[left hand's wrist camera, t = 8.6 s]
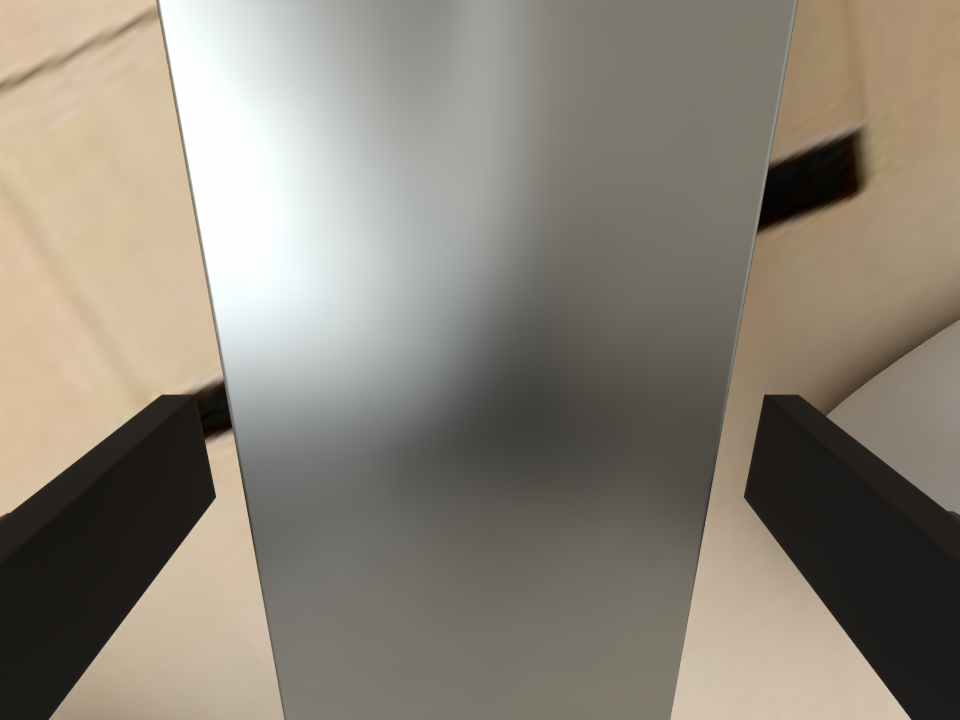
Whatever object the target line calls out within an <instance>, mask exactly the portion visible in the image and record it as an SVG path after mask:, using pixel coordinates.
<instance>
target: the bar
mask: <svg viewBox="0 0 960 720" xmlns="http://www.w3.org/2000/svg"><path fill="white" fill-rule="evenodd" d="M156 1H157V6H158V12H159V18H160V23H161V29H162V35H163V40H164V46H165V51H166V57H167V63H168V68H169V74H170V79H171V85H172V91H173V96H174V102H175V107H176V113H177V119H178V124H179V130H180V135H181V141H182V147H183V152H184V158H185V164H186V169H187V175H188V180H189V186H190V192H191V197H192V203H193V208H194V214H195V220H196V225H197V231H198V236H199V242H200V248H201V253H202V259H203V265H204V270H205V276H206V281H207V287H208V293H209V298H210V304H211V309H212V315H213V321H214V326H215V332H216V337H217V343H218V349H219V354H220V360H221V366H222V371H223V377H224V382H225V388H226V394H227V399H228V405H229V410H230V416H231V422H232V427H233V433H234V438H235V444H236V450H237V455H238V461H239V467H240V472H241V478H242V483H243V489H244V495H245V500H246V506H247V511H248V517H249V523H250V528H251V534H252V539H253V545H254V551H255V556H256V562H257V567H258V573H259V579H260V584H261V590H262V596H263V601H264V607H265V612H266V618H267V624H268V629H269V635H270V640H271V646H272V652H273V657H274V663H275V668H276V674H277V680H278V685H279V691H280V697H281V702H282V708H283V713H284V719H285V720H670V717H671V712H672V706H673V701H674V695H675V689H676V684H677V678H678V672H679V667H680V661H681V656H682V650H683V644H684V639H685V633H686V627H687V622H688V616H689V611H690V605H691V599H692V594H693V588H694V582H695V577H696V571H697V566H698V560H699V554H700V549H701V543H702V537H703V532H704V526H705V521H706V515H707V509H708V504H709V498H710V492H711V487H712V481H713V476H714V470H715V464H716V459H717V453H718V447H719V442H720V436H721V431H722V425H723V419H724V414H725V408H726V402H727V397H728V391H729V386H730V380H731V374H732V369H733V363H734V357H735V352H736V346H737V341H738V335H739V329H740V324H741V318H742V313H743V307H744V301H745V296H746V290H747V284H748V279H749V273H750V268H751V262H752V256H753V251H754V245H755V239H756V234H757V228H758V223H759V217H760V211H761V206H762V200H763V194H764V189H765V183H766V178H767V172H768V166H769V161H770V155H771V149H772V144H773V138H774V133H775V127H776V121H777V116H778V110H779V104H780V99H781V93H782V88H783V82H784V76H785V71H786V65H787V59H788V54H789V48H790V43H791V37H792V31H793V26H794V20H795V14H796V9H797V3H798V0H156Z"/></svg>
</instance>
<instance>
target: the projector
mask: <svg viewBox="0 0 960 720" xmlns="http://www.w3.org/2000/svg"><path fill="white" fill-rule="evenodd" d="M826 417H827V418H829V419H830V420H831V421H832V422H834V423H835V424H836V425H838V426H839V427H840V428H841V429H843V430H844V431H845V432H847V433H848V434H849V435H850V436H852V437H853V438H854V439H856V440H857V441H858V442H859V443H861V444H862V445H863V446H865V447H866V448H867V449H868V450H870V451H871V452H872V453H874V454H875V455H876V456H877V457H879V458H880V459H881V460H883V461H884V462H885V463H886V464H888V465H889V466H890V467H891V468H893V469H894V470H895V471H897V472H898V473H899V474H900V475H902V476H903V477H904V478H906V479H907V480H908V481H909V482H911V483H912V484H913V485H915V486H916V487H917V488H918V489H920V490H921V491H922V492H924V493H925V494H926V495H927V496H929V497H930V498H931V499H933V500H934V501H935V502H936V503H938V504H939V505H940V506H942V507H943V508H944V509H945V510H947V511H954V512H956V513H958V514H959V515H960V320H958V321H956V322H955V323H953V324H952V325H950V326H948V327H947V328H945V329H944V330H942V331H940V332H939V333H937V334H936V335H934V336H933V337H931V338H930V339H928V340H927V341H925V342H924V343H922V344H921V345H919V346H918V347H916V348H915V349H913V350H912V351H910V352H909V353H907V354H906V355H904V356H903V357H902V358H900V359H899V360H897V361H896V362H895V363H893V364H892V365H890V366H889V367H888V368H886V369H885V370H883V371H882V372H881V373H879V374H878V375H876V376H875V377H873V378H872V379H871V380H869V381H868V382H867V383H866V384H864V385H863V386H862V387H860V388H859V389H858V390H856V391H855V392H854V393H853V394H851V395H850V396H849V397H847V398H846V399H845V400H844V401H843V402H841V403H840V404H839V405H838V406H837V407H836V408H835V409H833V410H832V411H831V412H830V413H829V414H828V415H827V416H826Z"/></svg>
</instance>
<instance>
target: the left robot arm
mask: <svg viewBox="0 0 960 720" xmlns="http://www.w3.org/2000/svg"><path fill="white" fill-rule="evenodd" d="M215 498H216V494H215V489H214V484H213V479H212V474H211V469H210V464H209V459H208V454H207V450H206V445H205V440H204V435H203V430H202V425H201V420H200V415H199V410H198V405H197V400H196V395H161V396H160V397H158V398H157V399H156V400H154V401H153V402H152V403H151V404H149V405H148V406H147V407H145V408H144V409H143V410H142V411H140V412H139V413H138V414H136V415H135V416H134V417H133V418H131V419H130V420H129V421H127V422H126V423H125V424H124V425H122V426H121V427H120V428H119V429H117V430H116V431H115V432H113V433H112V434H111V435H110V436H108V437H107V438H106V439H104V440H103V441H102V442H101V443H99V444H98V445H97V446H95V447H94V448H93V449H92V450H90V451H89V452H88V453H86V454H85V455H84V456H83V457H81V458H80V459H79V460H77V461H76V462H75V463H74V464H72V465H71V466H70V467H68V468H67V469H66V470H65V471H63V472H62V473H61V474H60V475H58V476H57V477H56V478H54V479H53V480H52V481H51V482H49V483H48V484H47V485H45V486H44V487H43V488H42V489H40V490H39V491H38V492H36V493H35V494H34V495H33V496H31V497H30V498H29V499H27V500H26V501H25V502H24V503H22V504H21V505H20V506H18V507H17V508H16V509H15V510H13V511H12V512H11V513H7V514H5V515H3V516H1V517H0V720H49V718H50V717H51V716H52V714H53V713H54V712H55V710H56V709H57V708H58V706H59V705H60V704H61V702H62V701H63V700H64V699H65V697H66V696H67V695H68V693H69V692H70V691H71V689H72V688H73V687H74V685H75V684H76V683H77V681H78V680H79V679H80V677H81V676H82V675H83V673H84V672H85V671H86V669H87V668H88V667H89V665H90V664H91V663H92V661H93V660H94V659H95V657H96V656H97V655H98V653H99V652H100V651H101V649H102V648H103V647H104V645H105V644H106V643H107V641H108V640H109V639H110V637H111V636H112V635H113V633H114V632H115V631H116V629H117V628H118V627H119V625H120V624H121V623H122V621H123V620H124V619H125V617H126V616H127V615H128V614H129V612H130V611H131V610H132V608H133V607H134V606H135V604H136V603H137V602H138V600H139V599H140V598H141V596H142V595H143V594H144V592H145V591H146V590H147V588H148V587H149V586H150V584H151V583H152V582H153V580H154V579H155V578H156V576H157V575H158V574H159V572H160V571H161V570H162V568H163V567H164V566H165V564H166V563H167V562H168V560H169V559H170V558H171V556H172V555H173V554H174V552H175V551H176V550H177V548H178V547H179V546H180V544H181V543H182V542H183V540H184V539H185V538H186V536H187V535H188V534H189V532H190V531H191V530H192V529H193V527H194V526H195V525H196V523H197V522H198V521H199V519H200V518H201V517H202V515H203V514H204V513H205V511H206V510H207V509H208V507H209V506H210V505H211V503H212V502H213V501H214V499H215ZM744 498H745V499H746V501H747V502H748V503H749V505H750V506H751V507H752V509H753V510H754V511H755V513H756V514H757V515H758V517H759V518H760V519H761V521H762V522H763V523H764V525H765V526H766V527H767V529H768V530H769V531H770V533H771V534H772V535H773V536H774V538H775V539H776V540H777V542H778V543H779V544H780V546H781V547H782V548H783V550H784V551H785V552H786V554H787V555H788V556H789V558H790V559H791V560H792V562H793V563H794V564H795V566H796V567H797V568H798V570H799V571H800V572H801V574H802V575H803V576H804V578H805V579H806V580H807V582H808V583H809V584H810V586H811V587H812V588H813V590H814V591H815V592H816V594H817V595H818V596H819V598H820V599H821V600H822V602H823V603H824V604H825V606H826V607H827V608H828V610H829V611H830V612H831V614H832V615H833V616H834V618H835V619H836V620H837V621H838V623H839V624H840V625H841V627H842V628H843V629H844V631H845V632H846V633H847V635H848V636H849V637H850V639H851V640H852V641H853V643H854V644H855V645H856V647H857V648H858V649H859V651H860V652H861V653H862V655H863V656H864V657H865V659H866V660H867V661H868V663H869V664H870V665H871V667H872V668H873V669H874V671H875V672H876V673H877V675H878V676H879V677H880V679H881V680H882V681H883V683H884V684H885V685H886V687H887V688H888V689H889V691H890V692H891V693H892V695H893V696H894V697H895V699H896V700H897V701H898V703H899V704H900V705H901V706H902V708H903V709H904V710H905V712H906V713H907V714H908V716H909V717H910V718H911V720H960V515H959V514H958V513H956V512H954V511H947V510H945V509H944V508H943V507H942V506H940V505H939V504H938V503H936V502H935V501H934V500H933V499H931V498H930V497H929V496H927V495H926V494H925V493H924V492H922V491H921V490H920V489H918V488H917V487H916V486H915V485H913V484H912V483H911V482H909V481H908V480H907V479H906V478H904V477H903V476H902V475H900V474H899V473H898V472H897V471H895V470H894V469H893V468H891V467H890V466H889V465H888V464H886V463H885V462H884V461H883V460H881V459H880V458H879V457H877V456H876V455H875V454H874V453H872V452H871V451H870V450H868V449H867V448H866V447H865V446H863V445H862V444H861V443H859V442H858V441H857V440H856V439H854V438H853V437H852V436H850V435H849V434H848V433H847V432H845V431H844V430H843V429H841V428H840V427H839V426H838V425H836V424H835V423H834V422H832V421H831V420H830V419H829V418H827V417H826V416H825V415H824V414H822V413H821V412H820V411H818V410H817V409H816V408H815V407H813V406H812V405H811V404H809V403H808V402H807V401H806V400H804V399H803V398H802V397H800V396H799V395H764V400H763V405H762V410H761V415H760V420H759V425H758V430H757V435H756V440H755V444H754V449H753V454H752V459H751V464H750V469H749V474H748V479H747V484H746V489H745V494H744Z"/></svg>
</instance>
